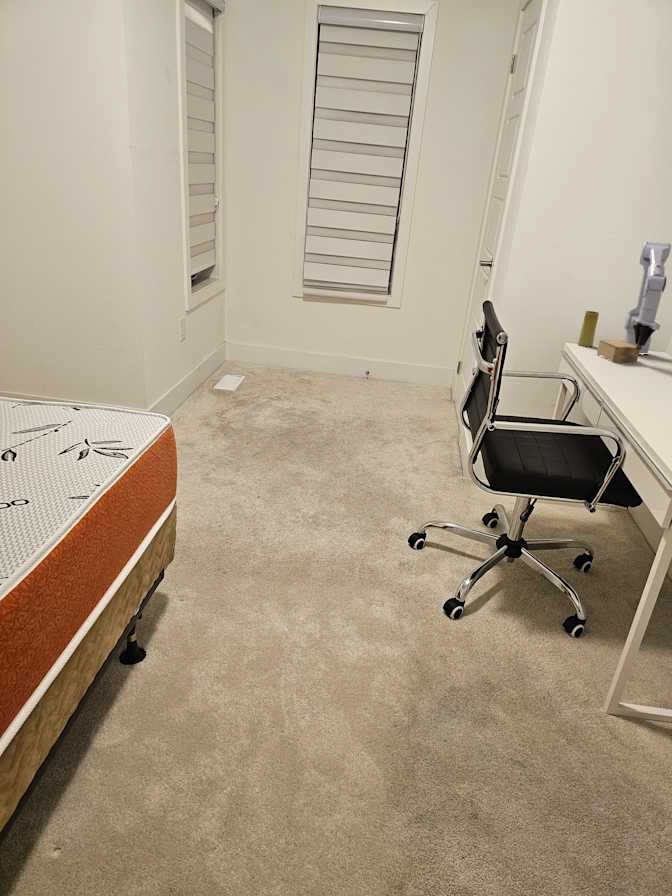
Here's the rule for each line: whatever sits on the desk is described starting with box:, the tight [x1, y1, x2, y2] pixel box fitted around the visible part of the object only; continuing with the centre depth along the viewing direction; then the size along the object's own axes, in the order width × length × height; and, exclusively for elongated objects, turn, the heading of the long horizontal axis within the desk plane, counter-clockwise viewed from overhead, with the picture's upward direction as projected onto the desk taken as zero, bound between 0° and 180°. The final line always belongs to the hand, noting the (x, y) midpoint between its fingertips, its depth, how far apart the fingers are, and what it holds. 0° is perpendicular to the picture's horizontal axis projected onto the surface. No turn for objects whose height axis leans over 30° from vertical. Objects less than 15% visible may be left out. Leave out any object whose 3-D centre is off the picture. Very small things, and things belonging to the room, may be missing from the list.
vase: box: [577, 310, 600, 347], centre depth 259 cm, size 6×6×14 cm
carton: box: [596, 339, 637, 362], centre depth 241 cm, size 10×11×6 cm
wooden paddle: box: [612, 336, 642, 363], centre depth 234 cm, size 10×2×11 cm, turn 99°
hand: (639, 344), depth 234 cm, fingers closed on wooden paddle, 2 cm apart
